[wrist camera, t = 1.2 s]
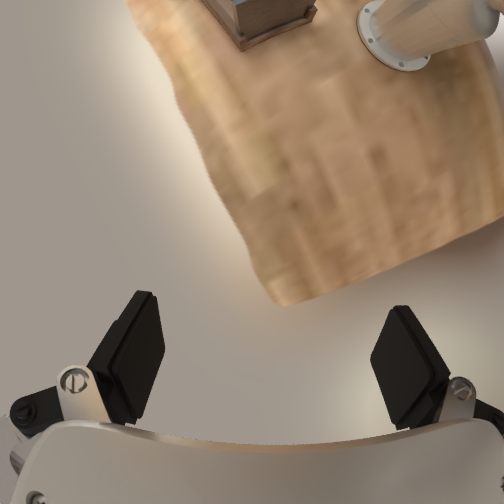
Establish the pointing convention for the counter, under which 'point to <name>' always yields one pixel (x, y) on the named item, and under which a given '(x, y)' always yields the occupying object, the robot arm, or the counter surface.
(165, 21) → the counter surface
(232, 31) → the book ledge
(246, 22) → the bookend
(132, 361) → the robot arm
